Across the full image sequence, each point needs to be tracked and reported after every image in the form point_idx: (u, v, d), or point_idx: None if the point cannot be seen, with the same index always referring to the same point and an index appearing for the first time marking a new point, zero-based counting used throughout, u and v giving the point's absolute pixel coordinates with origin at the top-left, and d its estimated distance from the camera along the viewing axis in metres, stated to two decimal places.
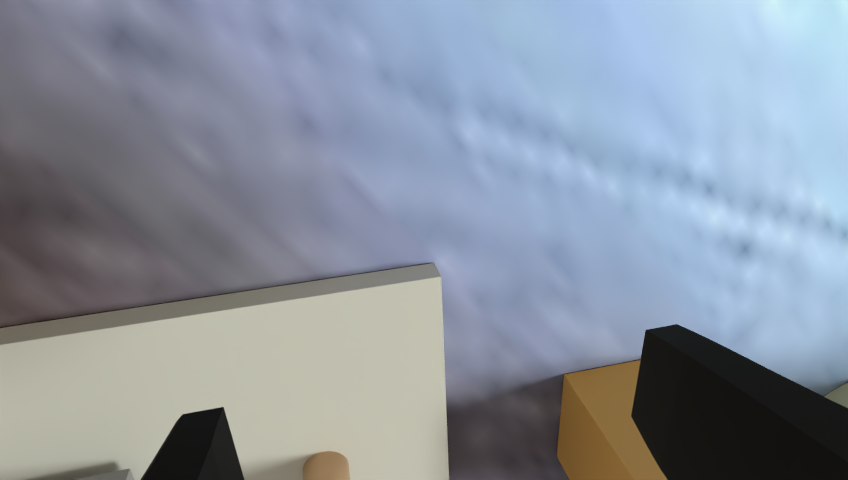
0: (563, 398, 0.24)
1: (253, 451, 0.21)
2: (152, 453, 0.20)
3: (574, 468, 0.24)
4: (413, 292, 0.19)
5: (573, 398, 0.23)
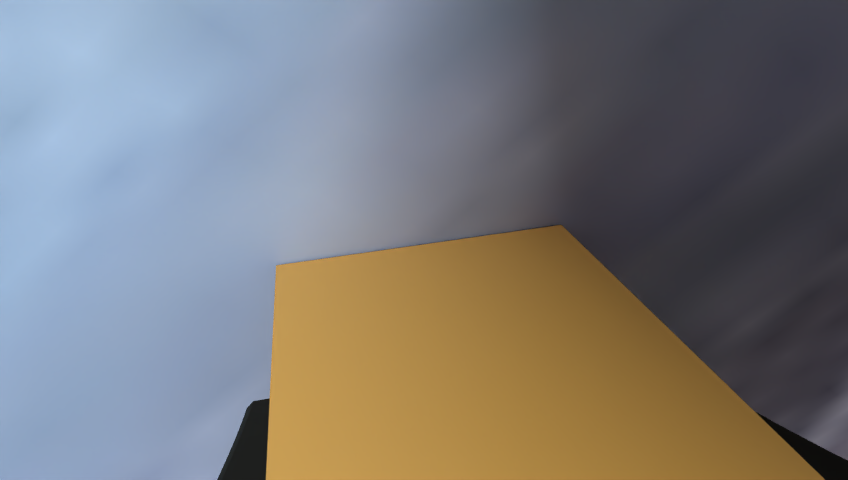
0: None
1: None
2: None
3: None
4: None
5: None
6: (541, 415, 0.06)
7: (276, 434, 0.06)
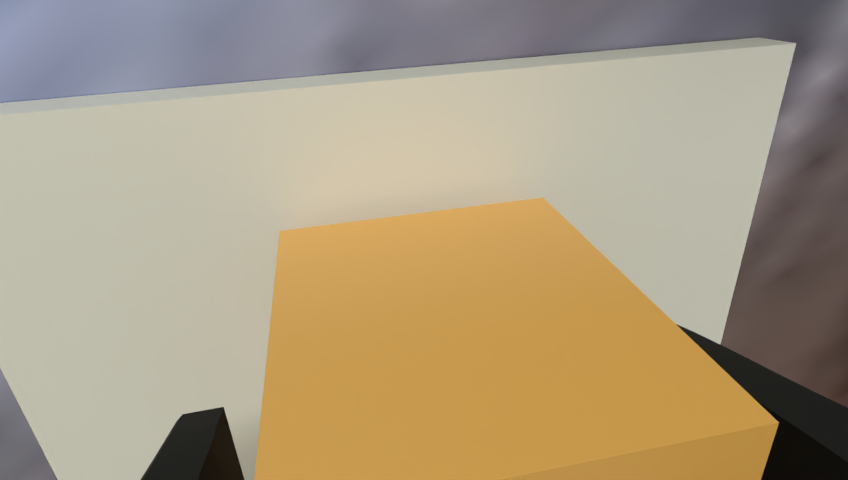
0: None
1: None
2: None
3: None
4: None
5: None
6: (505, 344, 0.07)
7: (273, 358, 0.07)
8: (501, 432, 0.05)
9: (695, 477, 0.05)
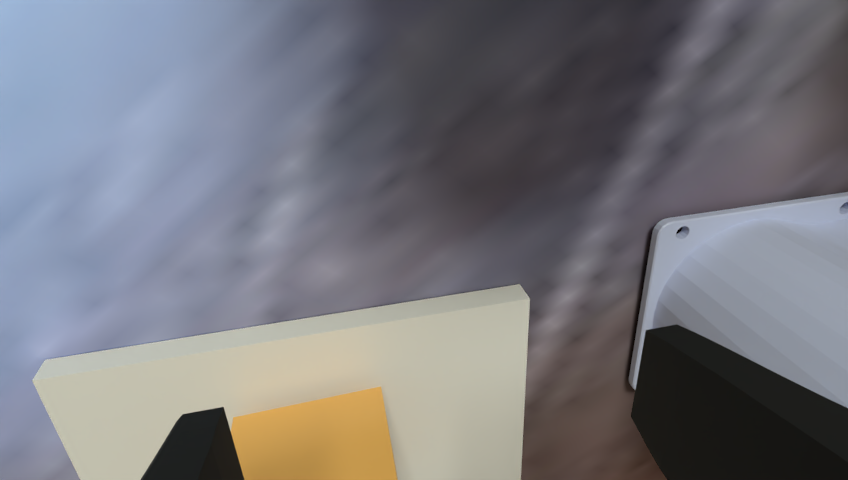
0: None
1: None
2: None
3: None
4: (60, 402, 0.17)
5: None
6: None
7: None
8: None
9: None
